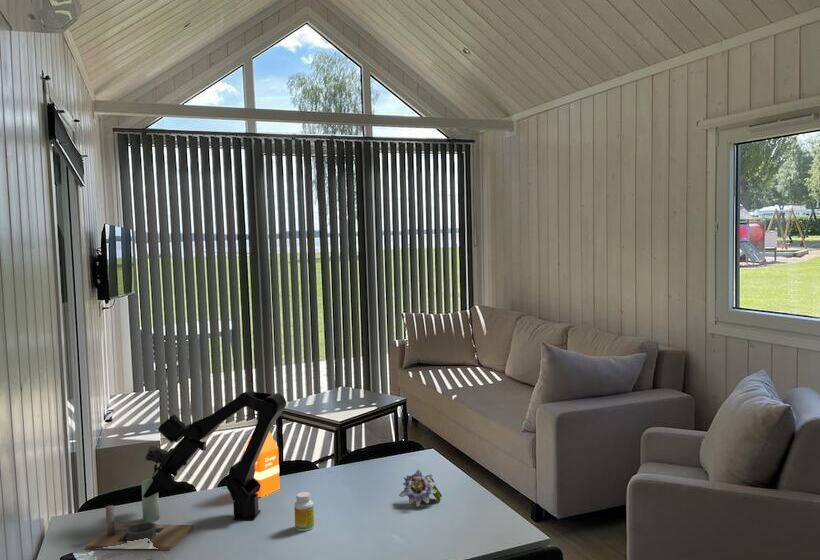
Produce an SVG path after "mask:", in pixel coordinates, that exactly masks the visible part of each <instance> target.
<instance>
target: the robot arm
mask: <svg viewBox="0 0 820 560" xmlns="http://www.w3.org/2000/svg"><path fill="white" fill-rule="evenodd" d="M286 406H287V400H286V398H285V397H284V395H282V394H281V393H273V394H272V393H270V392H269V393H268V392H258V391H253V390H251V389H250V390H246V391H244V392H242V393H240V394H239V396H237V397H236V398H234V399H233V400H231V401H230V402H228V403H226V404H225V405H224V406H222V407H221V408H219V409H218V410H216V411H215V412H213V413H211V414H209V415H207V416H205V417H202V418H201V419H198V420H195V421H194V422H192V423H189V424H188V425H186V424H185V423H184V422H183V421H181V419H180V418H179V417H178V416H177V415H176V414H173V415H171V416H170V417H168V419H167V420H165V421H164V422H163V423H161V424H160V426H158V429H157V431H158V433H160V434H161V435H162V436H163V437H165V439H166V440H167V441H168V442H170V443H171V444H172V443H177V444H176V445H175V447H171V448H170V449H168V450H165V449H163V448H160V447H157V446H152V445H150V446H149V447H148V449H147V452H146V454H145V458H144V459H145V460H146V461H149V462H150V461H152V462H155V464H154V465H153V472H154V473H152V475H151V478H153V481H152V483H151V484H150V486H149V487H148V489H147V491H146V492H145V494H144V495H143V497H145V498H147V497H149V496H151V495H153V494H156V493H158V494H159V492H161V491H163V490H164V491H165V490H166V489H167V490H169V491H170V490H171V489H172V488H173V487H174V485H175V482H176V481H175V480H176V479H175V477H177V475H178V472H179V471H180V470H181V469H182V467H185V466H186V465H187V464H188V461H189V460H190V459H191V457H192V456H193V455H194V454H195V453H196V452H197V451H198V450H200V451H203V452H204V451H207V441H205V440H204V441H202V440H203V439H206V438H207V437H209V436H211V435H212V434H213V433H214V432H215V431H216V430H217V429H218V428H219V427H220V425H221V424H222V423H224V422H225V421H226V420H228V419H229V418H231V417H232V416H234V415H236V414H237V413H238V412H240V411H241V410H243V409H244V408H246V407H247V408H249V409H250V410H252V411H254V412H257V422H256V425H255V428H254V430H253V433H252V434H251V436H250V437H251V439H250V438H249V439H250V441H249V440H248V441H249V443H248V442H247V443H248V445H247V444H246V445H247V448H246V450H245V452H244V455H243V454H242V456H241V459H240V460H239V461H238V462H236V463H234V464H233V465H231V466H230V468H229V472H228V475H226V477H225V480H226V481H225V486H226V488H227V491H228V492H229V494H230V496H231V499H232V501H233V503H232V504H233V517H232V518H233V520H234V521H238V520H239V521H240V520H241V521H243V520H244V521H248V520H249V521H254V520H255V519H256V518H257V517H258V515H260V513H261V511H262V510H261V509H259V498H258V494H256V493H257V492H259V490H260V487H261V484H260V483H259V482H258V481H257V480H256V479H255V478H254V474H255V463H256V461H257V459H258V456H259V454H260V452H261V450H262V447H263V445H264V443H265V440H266V438H267V436H268V434H269V431H270V432H271V429H272V426H273V425H274V423H275V422H276V421H277V420H278V419H279V417H281V414H282V413H283V411H284V410H285V408H286Z"/></svg>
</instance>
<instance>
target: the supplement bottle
mask: <svg viewBox="0 0 820 560" xmlns="http://www.w3.org/2000/svg"><path fill="white" fill-rule="evenodd" d="M295 496H296V498H295V499H296V502H294V505H293V506H294V508H293V509H294V527H295V530H296V531H298V532H307V531H311V530H313V528H314V527H315V519H314V518H315V517H314V516H315V515H314V514H315V511H314V510H315V509H314V502H313V500H312V499H311V493H310V492H307V491H303V492H299V493H296V495H295Z"/></svg>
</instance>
